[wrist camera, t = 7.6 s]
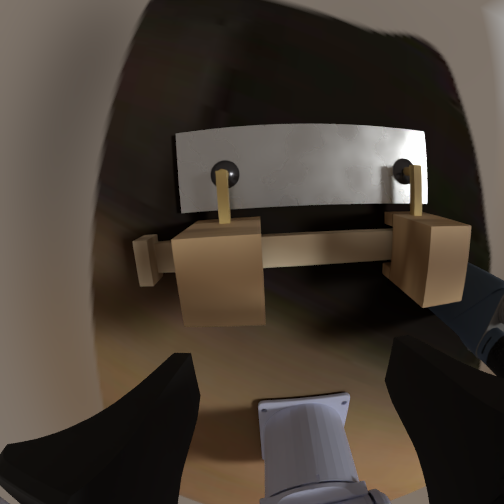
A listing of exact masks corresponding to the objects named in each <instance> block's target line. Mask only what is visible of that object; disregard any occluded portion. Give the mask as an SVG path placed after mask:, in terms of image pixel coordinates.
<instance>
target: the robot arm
mask: <svg viewBox="0 0 504 504" xmlns="http://www.w3.org/2000/svg"><path fill="white" fill-rule="evenodd" d="M385 383H386V386H387V389H388V392H389V395H390V398H391V400H392V403H393V405H394V407H395V409H396V411H397V413H398V415H399V417H400V419H401V421H402V423H403V425H404V427H405V429H406V431H407V433H408V435H409V437H410V439H411V441H412V443H413V445H414V447H415V450H416V452H417V455H418V458H419V461H420V465H421V468H422V471H423V475H424V479H425V483H426V487H427V492H428V497H429V503H430V504H504V378H500V377H497V376H494V375H491V374H488V373H486V372H483V371H480V370H478V369H475V368H473V367H471V366H469V365H467V364H464V363H462V362H460V361H458V360H456V359H454V358H452V357H450V356H448V355H446V354H445V353H443V352H441V351H439V350H437V349H435V348H433V347H431V346H430V345H428V344H426V343H424V342H422V341H420V340H418V339H416V338H414V337H412V336H409V335H406V336H400V337H395V338H394V341H393V346H392V351H391V355H390V360H389V365H388V369H387V373H386V377H385ZM343 401H344V402H343ZM349 401H350V395H349V394H348V393H339V394H332V395H324V396H315V397H306V398H295V399H281V400H264V401H260V402H259V403H258V412H259V425H260V437H261V450H262V459H263V460H265V498H261V499H260V504H391V502H390V500H389V498H388V497H387V496H386V495H385V494H384V493H382V492H380V491H379V490H377V489H372V490H369V491H368V490H367V487H366V483H365V481H360V482H359V479H358V475H357V472H356V468H355V465H354V461H353V458H352V454H351V451H350V447H349V444H348V440H347V437H346V433H345V430H344V425H345V420H346V415H347V411H348V406H349ZM199 402H200V392H199V388H198V383H197V379H196V375H195V370H194V365H193V361H192V356H191V353H174V354H172V355H171V356H170V357H169V358H168V359H167V360H166V361H165V362H163V363H162V364H161V365H160V366H159V367H158V368H157V369H156V370H155V371H154V372H152V373H151V374H150V375H149V376H148V377H147V378H146V379H144V380H143V381H142V382H141V383H140V384H139V385H137V386H136V387H135V388H134V389H132V390H131V391H130V392H128V393H127V394H126V395H125V396H123V397H122V398H121V399H119V400H118V401H117V402H115V403H114V404H112V405H111V406H109V407H108V408H106V409H104V410H103V411H101V412H99V413H98V414H96V415H94V416H93V417H91V418H89V419H87V420H85V421H82V422H80V423H78V424H76V425H74V426H72V427H70V428H68V429H65V430H62V431H60V432H57V433H55V434H51V435H48V436H45V437H41V438H38V439H34V440H29V441H24V442H19V443H13V444H7V445H6V447H5V448H4V450H3V451H2V452H1V454H0V485H1V486H2V487H3V488H4V489H5V490H6V491H7V492H8V493H9V494H10V495H11V496H12V497H14V498H15V499H16V500H17V501H18V502H19V503H20V504H178V497H179V490H180V483H181V476H182V472H183V468H184V464H185V460H186V457H187V453H188V450H189V446H190V443H191V439H192V436H193V432H194V429H195V425H196V421H197V417H198V410H199ZM263 409H266V410H263ZM0 504H9V503H8V502H7V501H5V500H4V499H3V498H1V497H0Z"/></svg>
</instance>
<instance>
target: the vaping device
mask: <svg viewBox="0 0 504 504" xmlns="http://www.w3.org/2000/svg"><path fill="white" fill-rule="evenodd" d="M428 309H430V310H431V311H432V312H433V313H434V314H435V315H436V316H438V317H439V318H440V319H441V320H442V321H443V322H444V323H445V324H447V325H448V326H449V327H450V328H451V329H452V330H453V331H454V332H455V333H456V334H458V335H459V337H460V339H461V341H462V342H463V344H464V345H465V346H466V347H467V349H468V350H469V351H471V352H472V353H473V354H474V355H475V356H476V357H477V358H478V359H481V360H482V361H483V362H484V363H485V364H486V365H487V366H488V367H489V368H490V369H491V370H492V371H493V373H494V374H495V375H496V376H497V377H500V378H504V281H503V280H501V279H500V278H498V277H496V276H494V275H492V274H490V273H488V272H486V271H484V270H482V269H480V268H478V267H476V266H474V265H472V264H470V263H467V271H466V277H465V283H464V289H463V295H462V300H461V301H458V302H453V303H448V304H442V305H437V306H431V307H428Z"/></svg>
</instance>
